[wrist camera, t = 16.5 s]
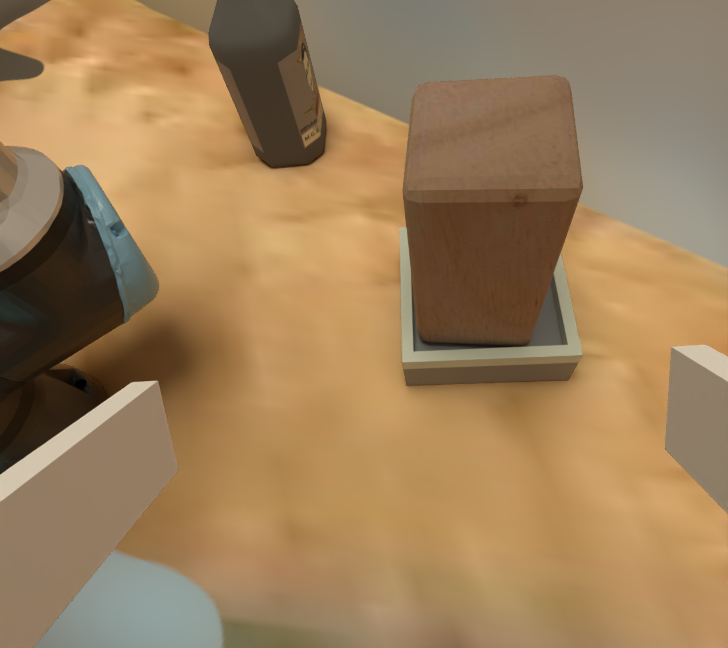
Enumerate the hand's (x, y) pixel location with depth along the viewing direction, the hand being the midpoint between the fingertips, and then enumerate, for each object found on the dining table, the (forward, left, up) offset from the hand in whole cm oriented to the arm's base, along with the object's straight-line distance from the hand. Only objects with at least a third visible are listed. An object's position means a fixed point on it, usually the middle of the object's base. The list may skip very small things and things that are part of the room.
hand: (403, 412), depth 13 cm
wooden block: (+5, +20, -29) cm, 35 cm away
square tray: (+6, +21, -32) cm, 39 cm away
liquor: (-16, +49, -33) cm, 61 cm away
